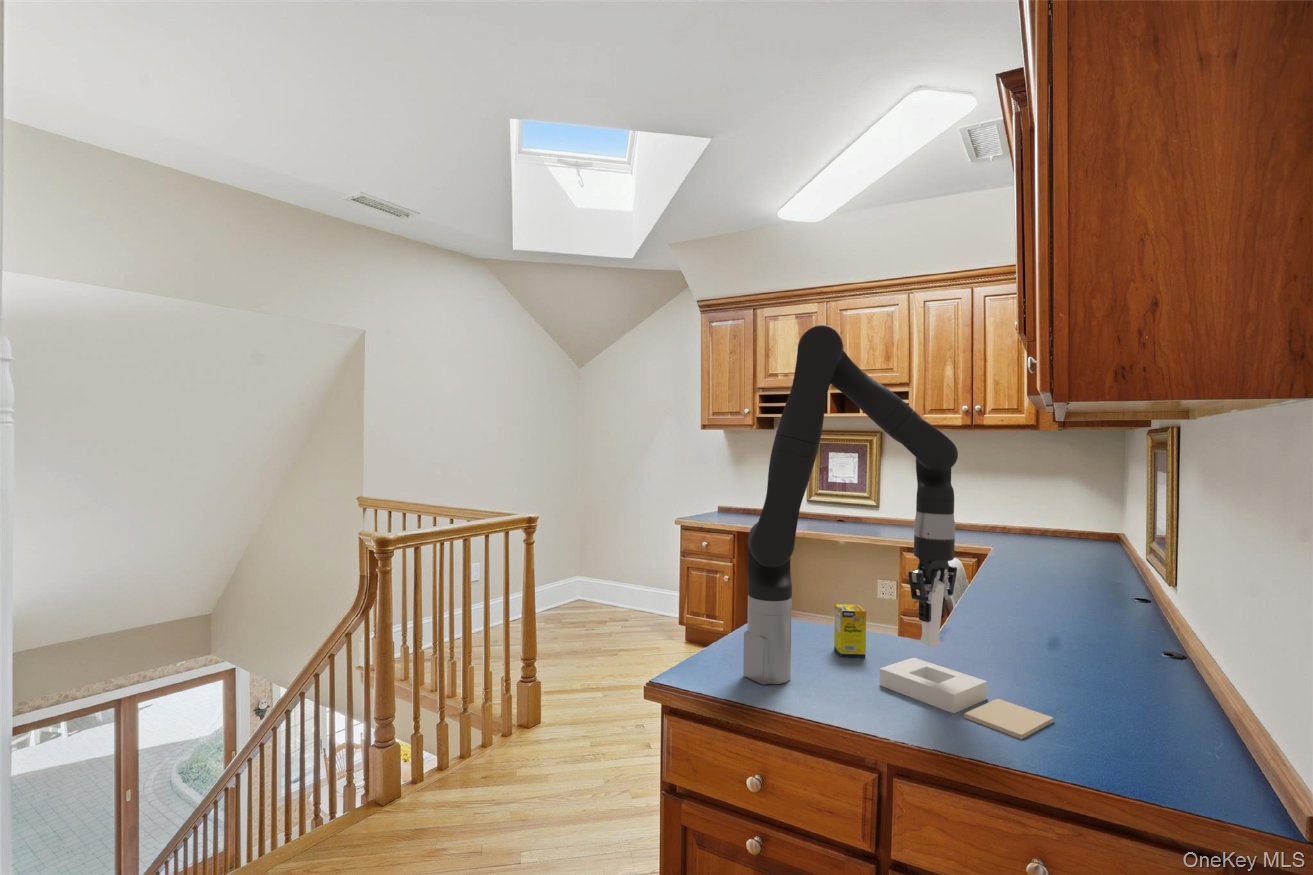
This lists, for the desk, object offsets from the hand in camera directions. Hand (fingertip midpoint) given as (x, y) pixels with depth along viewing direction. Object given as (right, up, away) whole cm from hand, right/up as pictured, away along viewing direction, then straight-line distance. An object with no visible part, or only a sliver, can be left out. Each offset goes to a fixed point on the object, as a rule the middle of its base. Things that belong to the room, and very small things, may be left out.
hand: (932, 618), depth 127 cm
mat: (+9, -15, -12) cm, 21 cm away
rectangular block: (0, -15, 0) cm, 15 cm away
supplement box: (-10, -15, +23) cm, 29 cm away
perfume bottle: (0, -5, 0) cm, 5 cm away
